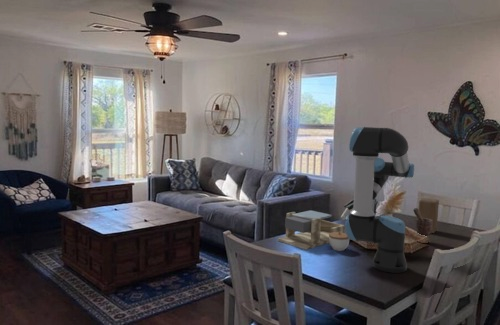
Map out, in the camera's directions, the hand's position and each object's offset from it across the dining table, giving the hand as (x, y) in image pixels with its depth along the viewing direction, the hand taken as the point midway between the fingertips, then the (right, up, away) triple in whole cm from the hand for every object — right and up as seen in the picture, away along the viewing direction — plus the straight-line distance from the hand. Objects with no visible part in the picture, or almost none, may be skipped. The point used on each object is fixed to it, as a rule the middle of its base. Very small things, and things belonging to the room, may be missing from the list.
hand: (351, 221), depth 221 cm
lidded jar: (-8, -14, -4) cm, 17 cm away
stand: (-20, -12, +12) cm, 26 cm away
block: (+56, -12, +37) cm, 68 cm away
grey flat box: (-23, -4, +8) cm, 25 cm away
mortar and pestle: (+42, -14, +11) cm, 46 cm away
